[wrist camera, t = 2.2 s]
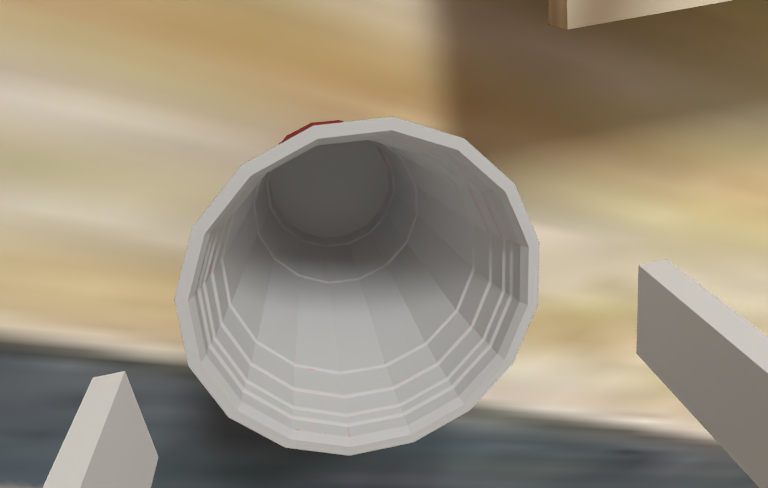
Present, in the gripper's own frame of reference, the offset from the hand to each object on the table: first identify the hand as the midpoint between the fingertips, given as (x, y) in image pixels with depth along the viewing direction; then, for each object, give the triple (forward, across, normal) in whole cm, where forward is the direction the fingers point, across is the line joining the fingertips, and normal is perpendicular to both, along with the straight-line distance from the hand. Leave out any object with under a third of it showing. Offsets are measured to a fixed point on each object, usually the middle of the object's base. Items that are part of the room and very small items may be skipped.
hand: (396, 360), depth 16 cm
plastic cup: (+14, 0, 0) cm, 15 cm away
